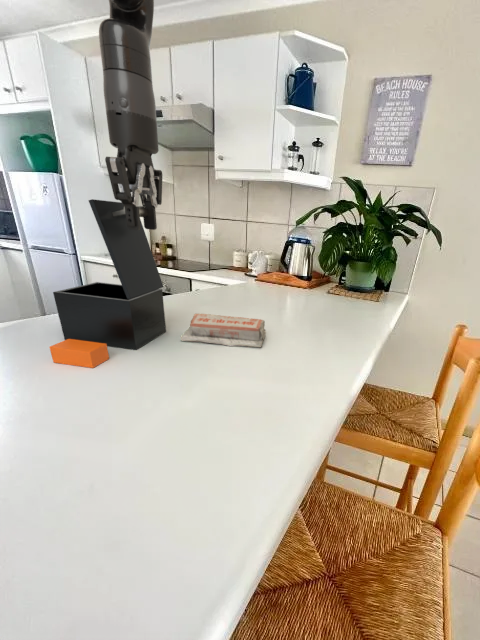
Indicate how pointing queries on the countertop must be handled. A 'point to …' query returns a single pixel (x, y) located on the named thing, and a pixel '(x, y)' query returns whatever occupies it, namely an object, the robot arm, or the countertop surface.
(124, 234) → the bin lid
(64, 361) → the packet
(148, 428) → the countertop surface
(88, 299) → the bin
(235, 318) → the packaged product
